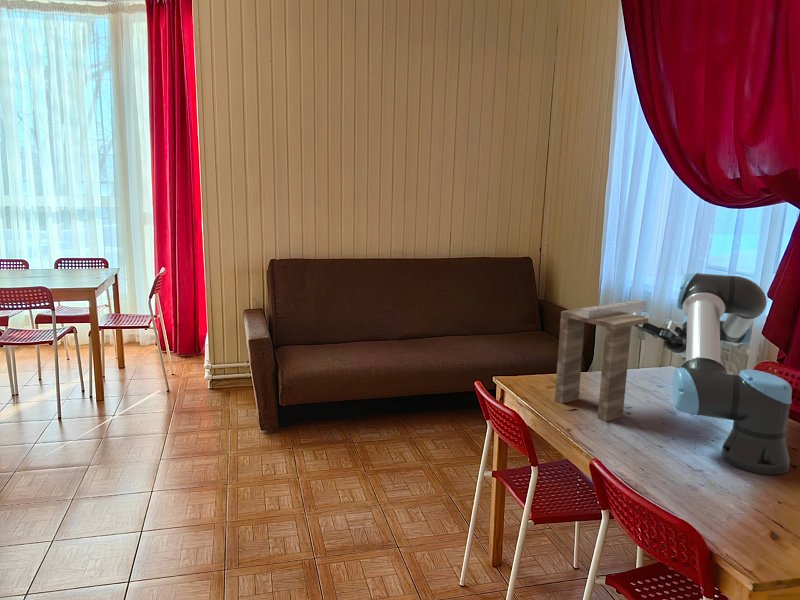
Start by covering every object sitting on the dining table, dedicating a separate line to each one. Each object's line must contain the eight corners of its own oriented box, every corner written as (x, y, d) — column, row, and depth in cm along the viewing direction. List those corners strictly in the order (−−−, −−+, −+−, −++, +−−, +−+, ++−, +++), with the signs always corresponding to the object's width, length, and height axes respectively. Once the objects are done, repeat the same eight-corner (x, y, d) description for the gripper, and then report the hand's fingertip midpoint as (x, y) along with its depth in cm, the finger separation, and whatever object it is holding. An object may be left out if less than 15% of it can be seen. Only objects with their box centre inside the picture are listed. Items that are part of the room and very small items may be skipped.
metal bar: (645, 309, 195) (646, 301, 194) (588, 318, 179) (589, 310, 179) (637, 307, 197) (638, 300, 197) (580, 316, 182) (581, 308, 181)
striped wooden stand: (638, 411, 188) (648, 318, 182) (605, 421, 179) (614, 324, 173) (587, 392, 204) (594, 306, 198) (554, 400, 195) (561, 311, 189)
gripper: (709, 362, 202) (681, 338, 190) (644, 344, 222) (615, 322, 210) (718, 342, 202) (690, 317, 190) (652, 326, 223) (623, 303, 211)
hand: (650, 320), depth 200 cm, fingers open, 13 cm apart
